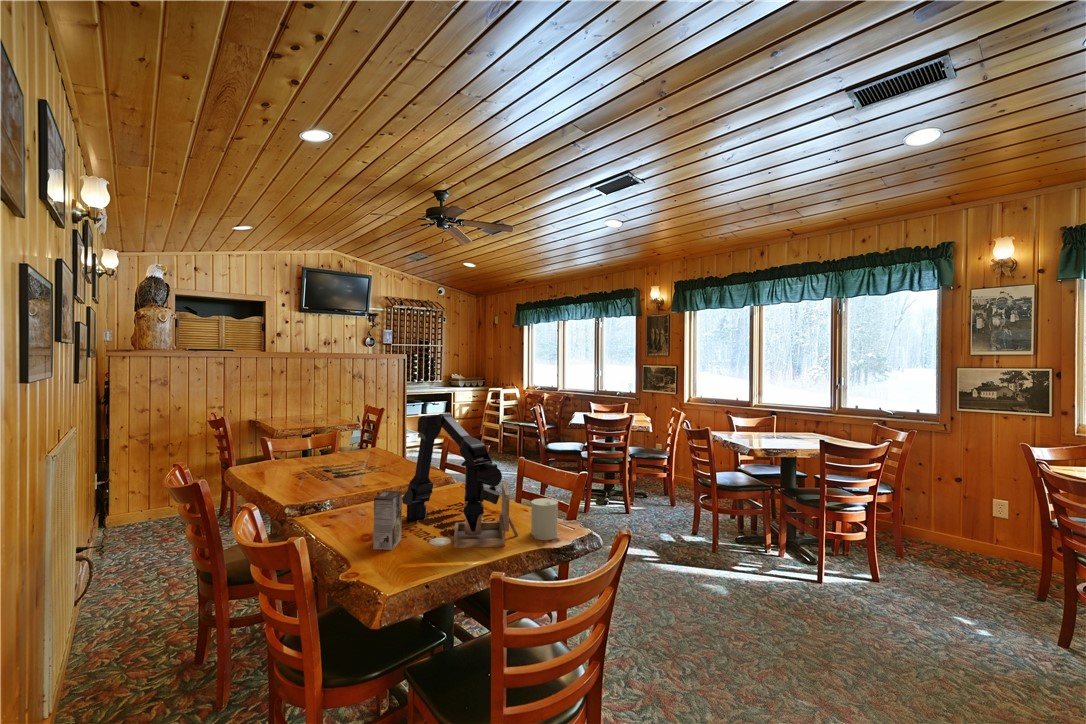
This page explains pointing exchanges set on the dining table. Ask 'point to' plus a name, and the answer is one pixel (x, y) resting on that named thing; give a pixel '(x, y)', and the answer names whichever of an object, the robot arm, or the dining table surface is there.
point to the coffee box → (387, 520)
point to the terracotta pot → (477, 529)
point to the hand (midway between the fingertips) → (473, 528)
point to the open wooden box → (487, 528)
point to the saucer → (439, 541)
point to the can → (544, 518)
